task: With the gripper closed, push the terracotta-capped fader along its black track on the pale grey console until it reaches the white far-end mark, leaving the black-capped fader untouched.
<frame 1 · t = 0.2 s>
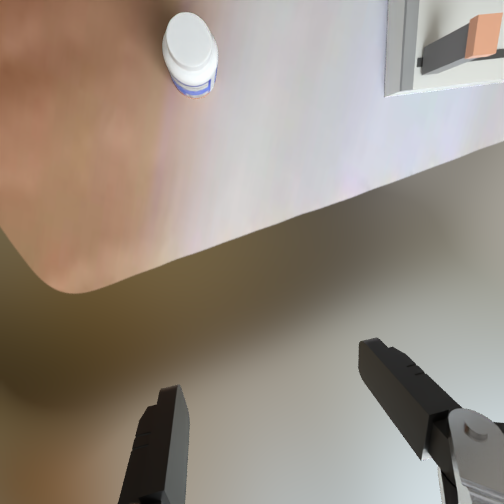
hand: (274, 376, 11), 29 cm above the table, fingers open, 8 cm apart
pill bottle: (193, 75, 31), on the table
console: (459, 30, 34), on the table
terracotta fader: (456, 49, 29), point 7 cm above the table, slide at 0.0 cm
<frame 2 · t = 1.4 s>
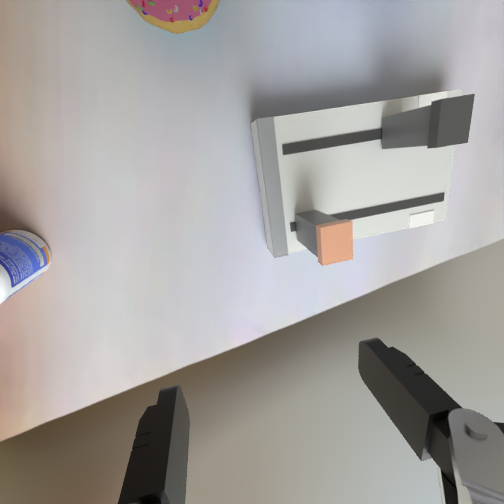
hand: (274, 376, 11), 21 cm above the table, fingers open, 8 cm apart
black fader: (419, 127, 23), point 7 cm above the table, slide at 0.0 cm
pill bottle: (25, 253, 27), on the table
console: (349, 175, 30), on the table
terracotta fader: (319, 233, 24), point 7 cm above the table, slide at 0.0 cm
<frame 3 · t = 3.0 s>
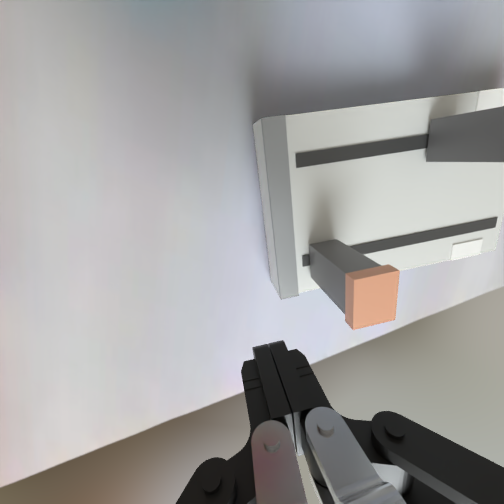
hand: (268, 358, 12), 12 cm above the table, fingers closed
black fader: (489, 134, 16), point 7 cm above the table, slide at 0.0 cm
console: (376, 192, 23), on the table
terracotta fader: (344, 275, 18), point 7 cm above the table, slide at 0.0 cm
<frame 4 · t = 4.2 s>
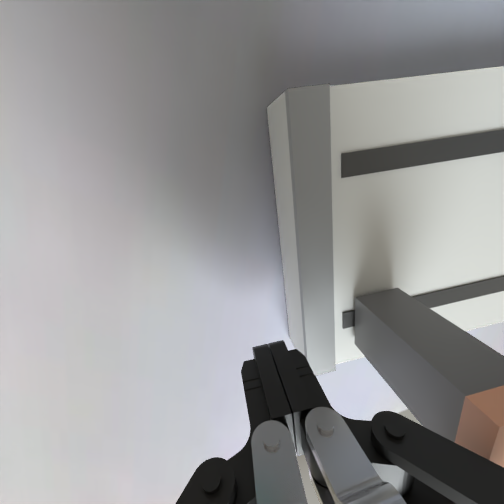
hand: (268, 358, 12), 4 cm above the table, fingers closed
console: (445, 211, 16), on the table
terracotta fader: (428, 364, 10), point 7 cm above the table, slide at 0.0 cm
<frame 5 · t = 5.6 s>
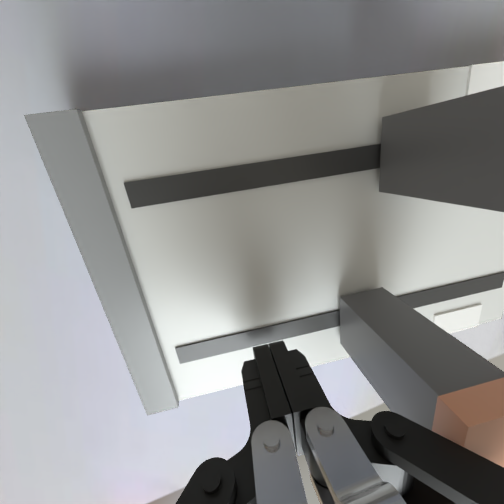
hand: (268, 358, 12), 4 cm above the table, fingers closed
black fader: (489, 147, 8), point 7 cm above the table, slide at 0.0 cm
console: (314, 232, 15), on the table
terracotta fader: (409, 363, 10), point 7 cm above the table, slide at 8.0 cm, touching hand
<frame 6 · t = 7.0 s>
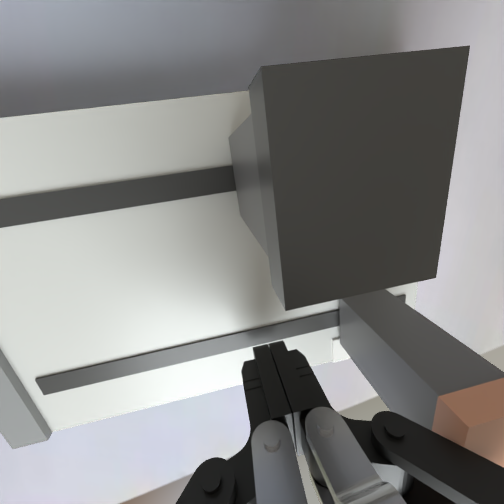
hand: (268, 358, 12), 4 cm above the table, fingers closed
black fader: (291, 179, 7), point 7 cm above the table, slide at 0.0 cm
console: (207, 252, 14), on the table
terracotta fader: (408, 363, 10), point 7 cm above the table, slide at 14.4 cm, touching hand
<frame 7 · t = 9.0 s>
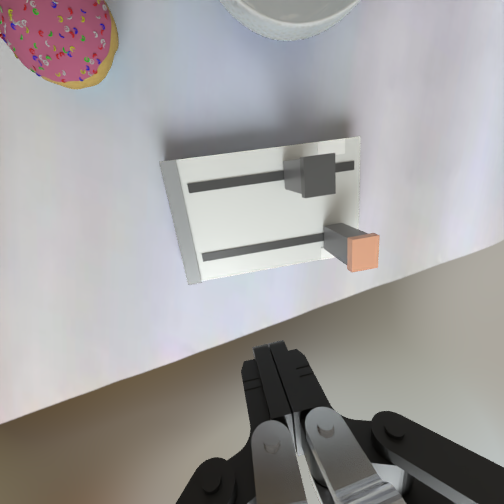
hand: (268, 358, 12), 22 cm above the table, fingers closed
black fader: (305, 174, 25), point 7 cm above the table, slide at 0.0 cm
cupcake: (85, 49, 24), on the table
console: (265, 208, 32), on the table
terracotta fader: (347, 244, 28), point 7 cm above the table, slide at 14.4 cm
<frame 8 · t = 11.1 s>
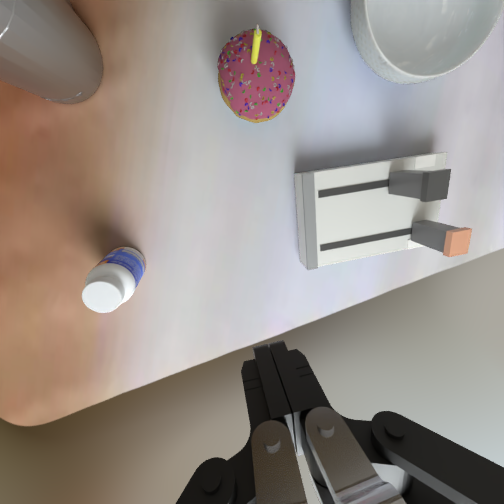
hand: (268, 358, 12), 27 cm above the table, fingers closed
black fader: (415, 183, 33), point 7 cm above the table, slide at 0.0 cm
pill bottle: (127, 263, 37), on the table
cupcake: (249, 89, 32), on the table
console: (363, 209, 40), on the table
cereal bowl: (393, 19, 32), on the table
terracotta fader: (437, 236, 36), point 7 cm above the table, slide at 14.4 cm
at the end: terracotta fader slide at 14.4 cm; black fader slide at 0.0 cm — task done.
